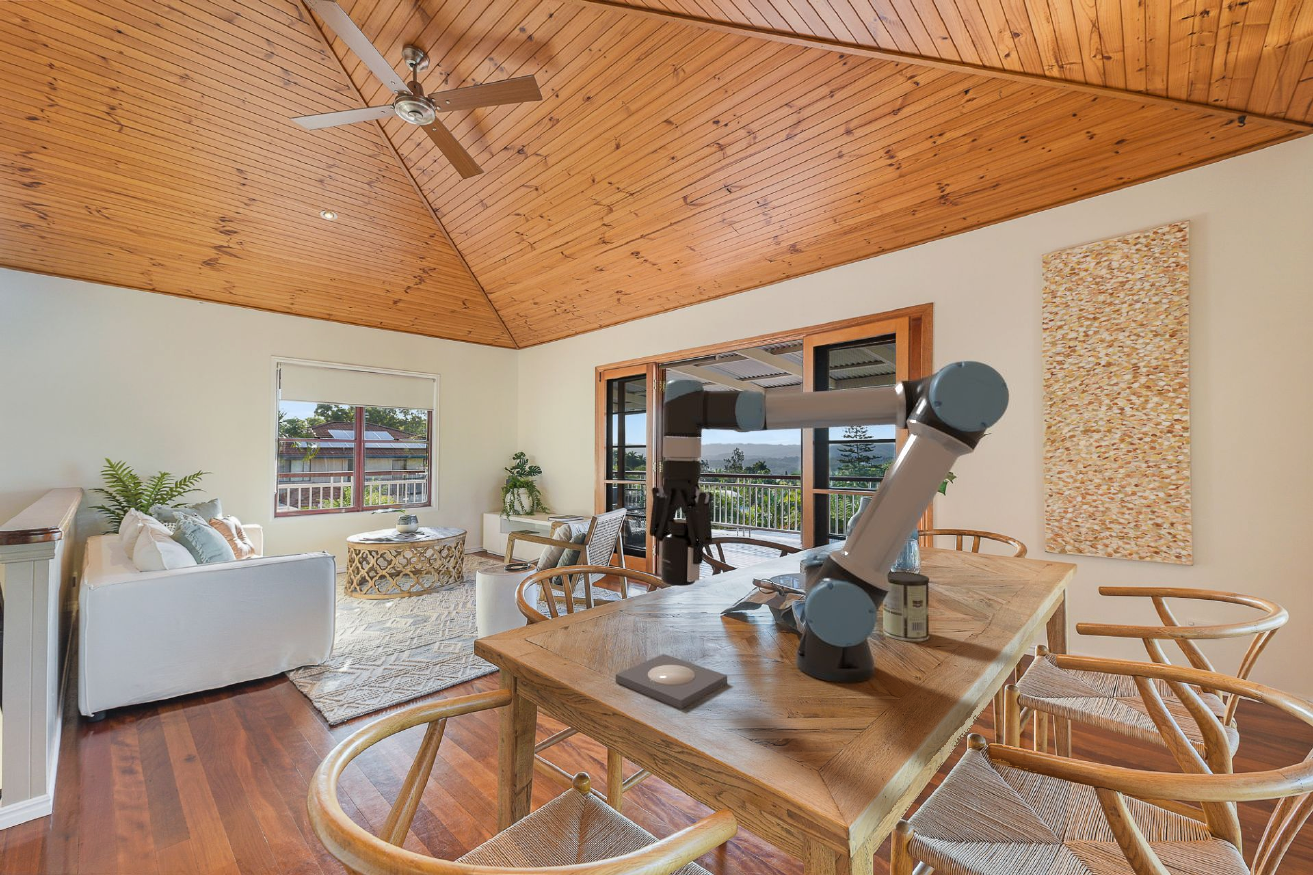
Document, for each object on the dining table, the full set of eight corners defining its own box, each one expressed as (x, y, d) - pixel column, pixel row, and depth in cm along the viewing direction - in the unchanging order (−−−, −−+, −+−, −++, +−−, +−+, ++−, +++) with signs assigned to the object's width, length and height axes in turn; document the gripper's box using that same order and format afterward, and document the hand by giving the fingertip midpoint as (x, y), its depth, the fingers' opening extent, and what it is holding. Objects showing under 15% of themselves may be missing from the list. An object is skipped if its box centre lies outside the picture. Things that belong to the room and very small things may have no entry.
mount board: (727, 683, 106) (727, 674, 106) (680, 708, 96) (680, 699, 96) (663, 660, 117) (663, 653, 117) (615, 682, 107) (615, 673, 107)
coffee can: (898, 624, 142) (898, 569, 142) (937, 636, 133) (937, 577, 134) (873, 632, 136) (873, 574, 136) (913, 645, 128) (913, 583, 128)
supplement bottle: (655, 583, 108) (657, 521, 108) (668, 576, 114) (670, 517, 114) (689, 588, 105) (690, 524, 105) (700, 580, 111) (702, 519, 111)
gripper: (734, 461, 105) (731, 583, 105) (658, 457, 119) (655, 565, 119) (709, 461, 100) (705, 590, 100) (633, 457, 114) (629, 570, 114)
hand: (678, 576), depth 109 cm, fingers closed on supplement bottle, 7 cm apart
